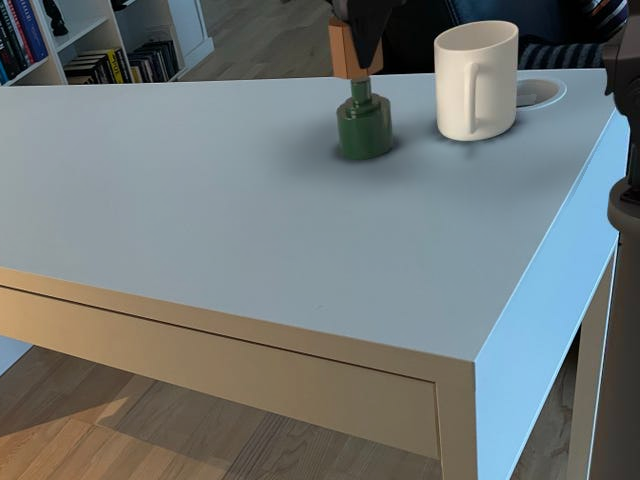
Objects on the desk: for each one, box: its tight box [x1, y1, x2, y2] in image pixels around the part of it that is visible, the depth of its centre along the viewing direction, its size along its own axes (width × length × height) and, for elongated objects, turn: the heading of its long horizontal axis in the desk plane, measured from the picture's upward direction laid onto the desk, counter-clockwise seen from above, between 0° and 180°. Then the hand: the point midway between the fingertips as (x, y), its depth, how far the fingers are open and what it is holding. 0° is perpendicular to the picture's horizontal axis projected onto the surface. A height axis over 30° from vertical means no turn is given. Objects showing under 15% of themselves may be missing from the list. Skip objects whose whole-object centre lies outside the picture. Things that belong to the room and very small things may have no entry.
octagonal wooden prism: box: [327, 15, 384, 81], centre depth 83 cm, size 5×5×6 cm
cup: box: [433, 20, 519, 142], centre depth 83 cm, size 8×12×10 cm
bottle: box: [335, 76, 394, 160], centre depth 88 cm, size 6×6×8 cm
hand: (358, 59), depth 84 cm, fingers closed on octagonal wooden prism, 5 cm apart
